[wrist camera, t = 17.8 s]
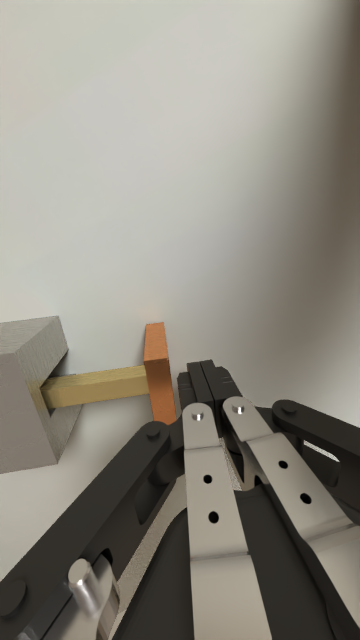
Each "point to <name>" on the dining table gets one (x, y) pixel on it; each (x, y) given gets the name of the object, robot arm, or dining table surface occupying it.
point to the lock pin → (121, 381)
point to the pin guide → (31, 395)
